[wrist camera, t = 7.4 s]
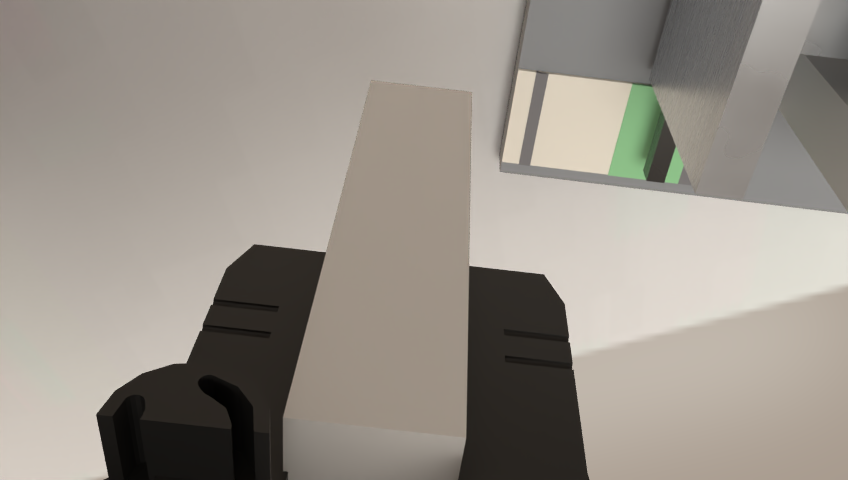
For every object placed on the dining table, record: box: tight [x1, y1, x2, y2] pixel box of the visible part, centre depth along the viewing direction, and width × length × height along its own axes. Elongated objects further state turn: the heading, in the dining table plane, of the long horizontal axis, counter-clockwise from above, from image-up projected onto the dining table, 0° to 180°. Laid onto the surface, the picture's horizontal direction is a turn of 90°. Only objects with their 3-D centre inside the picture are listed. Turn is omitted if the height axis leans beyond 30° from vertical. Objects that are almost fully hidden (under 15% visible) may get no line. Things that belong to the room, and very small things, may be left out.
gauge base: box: [499, 0, 848, 214], centre depth 22 cm, size 14×14×9 cm
